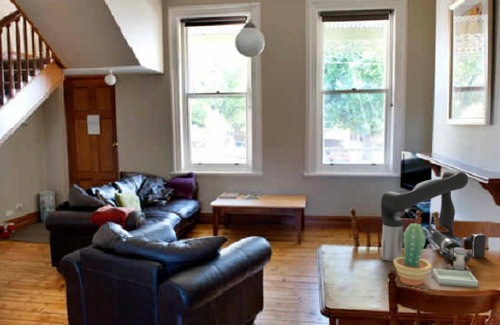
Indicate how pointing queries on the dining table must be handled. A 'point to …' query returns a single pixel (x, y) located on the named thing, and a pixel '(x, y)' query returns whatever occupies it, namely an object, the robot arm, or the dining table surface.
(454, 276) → the parts tray
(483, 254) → the dark grey block
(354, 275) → the dining table surface
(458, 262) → the fuse
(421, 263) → the potted cactus
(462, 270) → the grey u-shaped bracket
